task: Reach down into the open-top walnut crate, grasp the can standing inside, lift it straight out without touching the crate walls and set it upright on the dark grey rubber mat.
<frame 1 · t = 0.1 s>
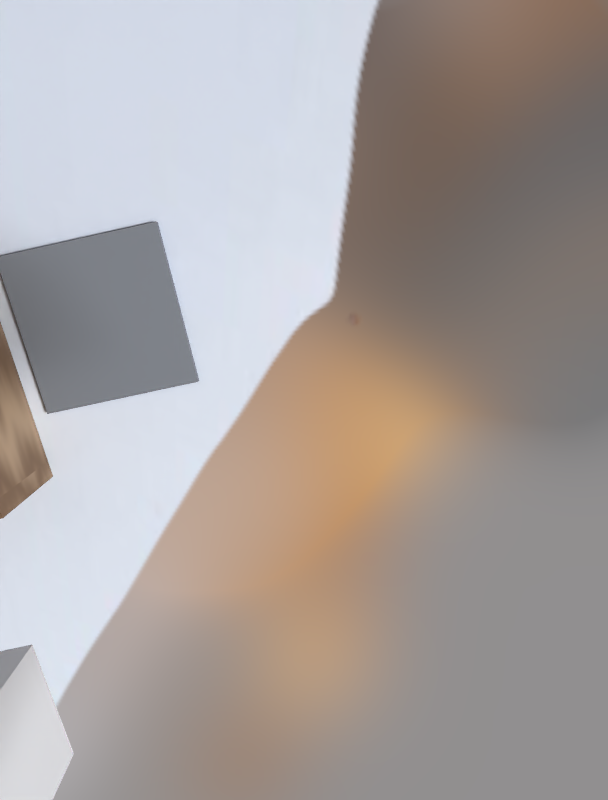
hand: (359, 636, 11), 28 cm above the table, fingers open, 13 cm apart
mat: (101, 320, 37), on the table
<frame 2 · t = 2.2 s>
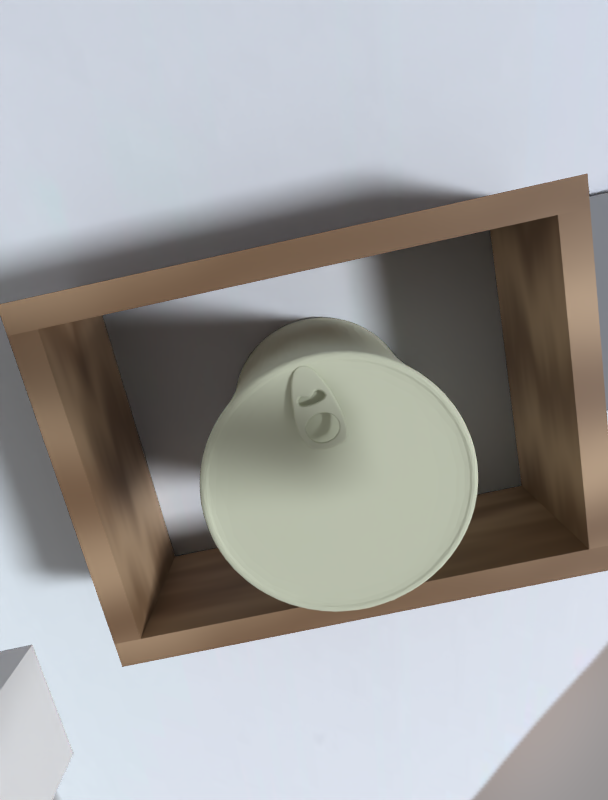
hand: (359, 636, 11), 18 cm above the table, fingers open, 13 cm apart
can: (321, 403, 29), resting in crate
crate: (321, 404, 28), on the table
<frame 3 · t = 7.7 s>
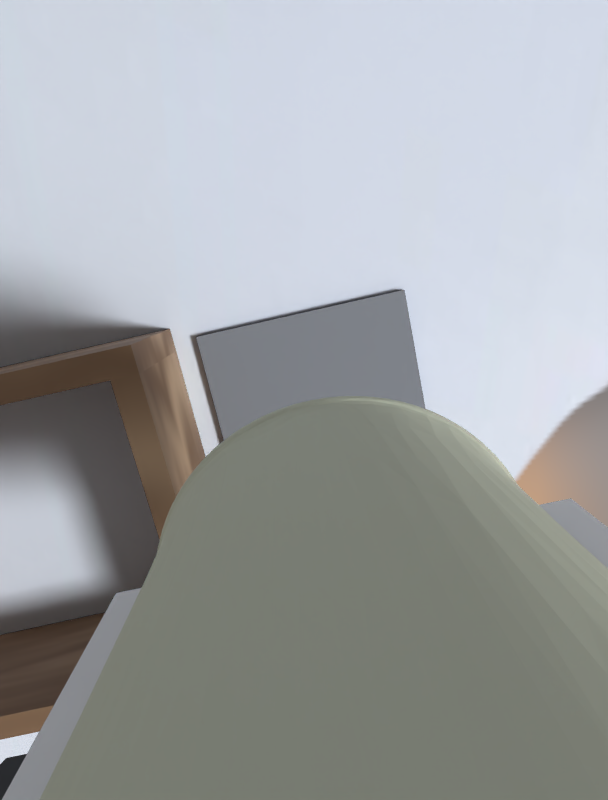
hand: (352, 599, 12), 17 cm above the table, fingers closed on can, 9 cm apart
can: (346, 573, 13), point 16 cm above the table, touching gripper
crate: (16, 516, 30), on the table
mat: (321, 412, 29), on the table
when the fingers open (3 cm above the table, at t = 10.9 s): can drops 1 cm, resting on mat.
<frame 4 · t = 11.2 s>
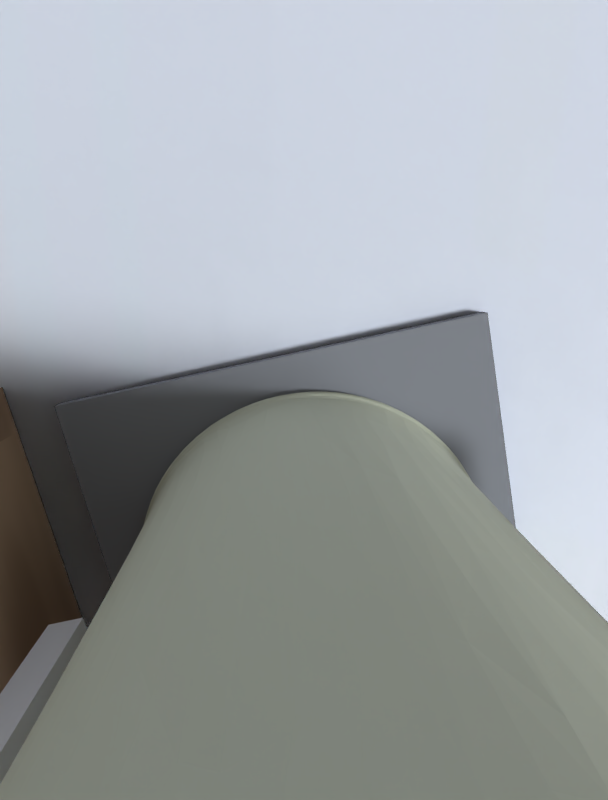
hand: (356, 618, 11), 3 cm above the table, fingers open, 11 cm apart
can: (314, 553, 15), resting on mat
mat: (314, 549, 15), on the table
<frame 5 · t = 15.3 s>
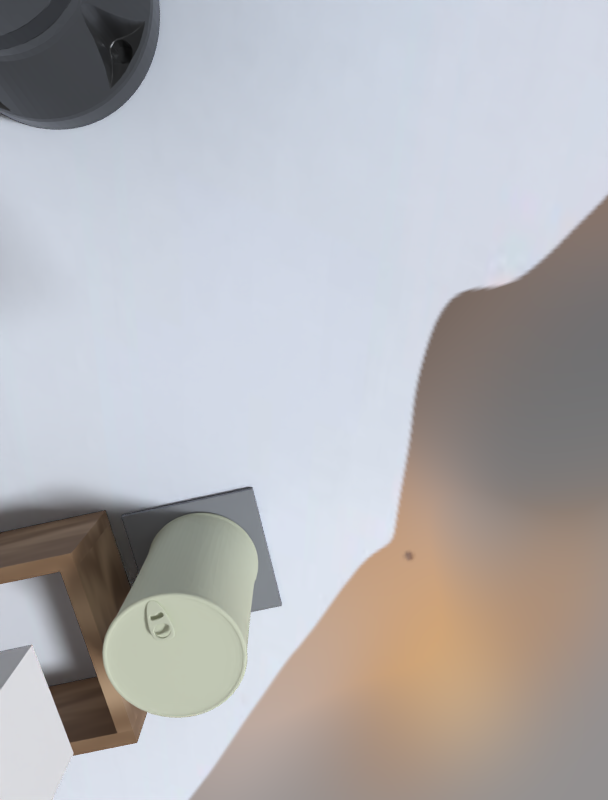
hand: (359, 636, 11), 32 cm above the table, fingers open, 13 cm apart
can: (203, 561, 45), resting on mat
crate: (7, 622, 46), on the table
mat: (204, 559, 45), on the table
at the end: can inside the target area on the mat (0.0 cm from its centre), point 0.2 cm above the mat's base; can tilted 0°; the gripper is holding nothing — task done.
